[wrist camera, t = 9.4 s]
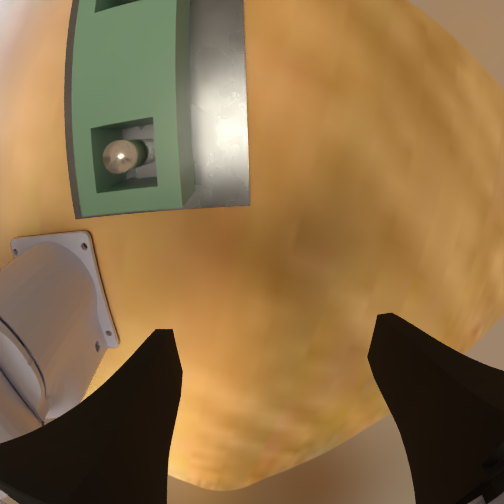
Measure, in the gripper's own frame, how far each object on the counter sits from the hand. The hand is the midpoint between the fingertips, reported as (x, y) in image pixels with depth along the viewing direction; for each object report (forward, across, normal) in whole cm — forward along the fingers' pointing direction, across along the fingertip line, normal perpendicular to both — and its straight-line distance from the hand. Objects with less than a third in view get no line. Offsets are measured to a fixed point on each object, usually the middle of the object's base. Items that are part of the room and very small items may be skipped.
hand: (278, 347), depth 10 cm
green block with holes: (+8, +6, -11) cm, 15 cm away
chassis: (+9, +6, -11) cm, 16 cm away
